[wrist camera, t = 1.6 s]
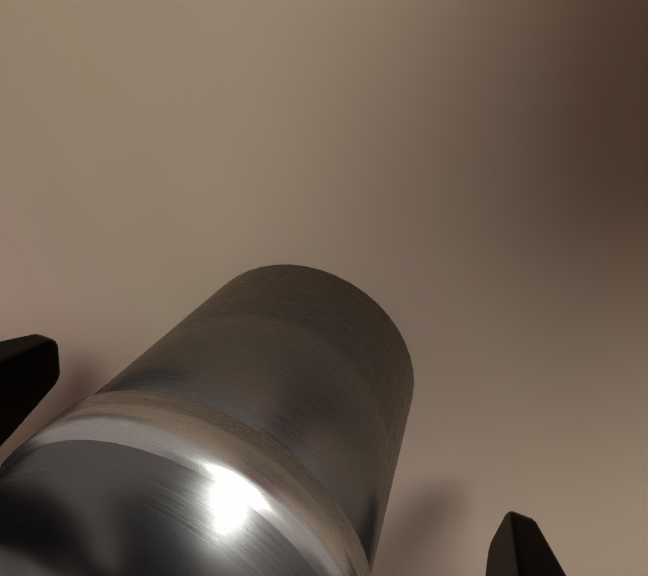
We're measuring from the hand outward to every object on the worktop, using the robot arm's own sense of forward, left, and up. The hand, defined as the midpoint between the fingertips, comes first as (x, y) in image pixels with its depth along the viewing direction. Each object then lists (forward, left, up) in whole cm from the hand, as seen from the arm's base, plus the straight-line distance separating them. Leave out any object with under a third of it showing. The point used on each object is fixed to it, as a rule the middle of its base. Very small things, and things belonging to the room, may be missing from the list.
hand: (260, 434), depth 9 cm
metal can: (0, 0, -2) cm, 2 cm away
